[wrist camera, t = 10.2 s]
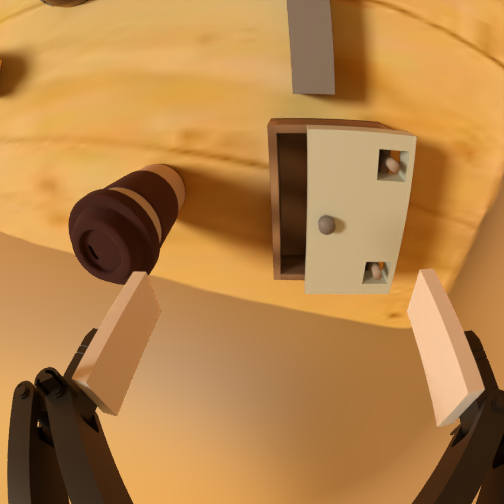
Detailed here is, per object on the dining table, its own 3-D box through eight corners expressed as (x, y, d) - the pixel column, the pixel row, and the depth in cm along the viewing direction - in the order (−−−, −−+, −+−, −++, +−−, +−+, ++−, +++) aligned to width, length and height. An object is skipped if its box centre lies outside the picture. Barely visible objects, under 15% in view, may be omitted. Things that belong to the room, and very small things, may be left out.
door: (306, 124, 26) (308, 131, 23) (407, 131, 24) (420, 139, 21) (304, 280, 35) (304, 299, 33) (384, 280, 34) (390, 299, 31)
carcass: (271, 118, 30) (264, 130, 24) (379, 122, 29) (402, 135, 22) (276, 256, 40) (271, 296, 33) (365, 257, 38) (377, 297, 32)
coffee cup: (202, 161, 34) (148, 217, 22) (191, 231, 40) (147, 307, 27) (129, 146, 34) (53, 193, 21) (126, 214, 39) (66, 278, 27)
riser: (283, -36, 20) (281, -49, 16) (320, -35, 19) (323, -48, 16) (292, 92, 28) (292, 93, 25) (330, 92, 28) (335, 94, 25)
